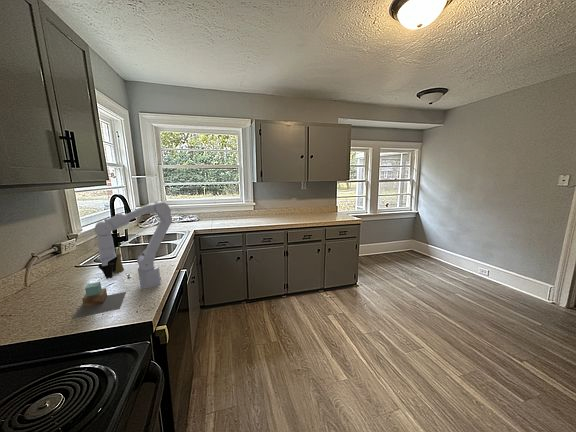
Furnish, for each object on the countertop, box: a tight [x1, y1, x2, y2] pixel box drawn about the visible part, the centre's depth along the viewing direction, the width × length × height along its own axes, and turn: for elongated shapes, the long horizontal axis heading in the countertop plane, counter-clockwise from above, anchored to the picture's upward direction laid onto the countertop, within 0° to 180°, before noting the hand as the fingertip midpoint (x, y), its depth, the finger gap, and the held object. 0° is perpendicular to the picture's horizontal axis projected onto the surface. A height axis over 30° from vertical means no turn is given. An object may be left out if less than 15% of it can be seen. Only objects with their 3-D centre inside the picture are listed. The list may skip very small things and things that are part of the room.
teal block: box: [84, 281, 103, 297], centre depth 107 cm, size 4×4×4 cm
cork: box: [113, 252, 125, 274], centre depth 140 cm, size 6×6×11 cm
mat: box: [71, 291, 127, 320], centre depth 106 cm, size 16×16×1 cm
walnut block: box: [81, 287, 108, 307], centre depth 108 cm, size 7×7×4 cm
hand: (111, 274), depth 113 cm, fingers open, 7 cm apart
